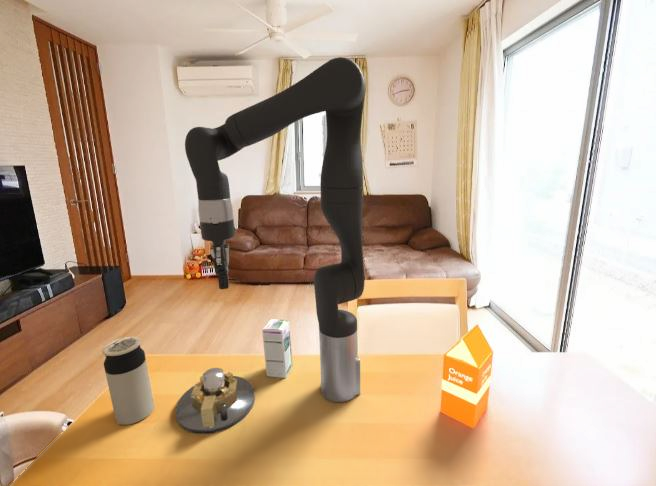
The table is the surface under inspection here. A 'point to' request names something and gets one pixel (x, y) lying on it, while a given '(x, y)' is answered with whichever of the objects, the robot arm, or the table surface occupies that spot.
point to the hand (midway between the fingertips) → (224, 287)
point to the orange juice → (467, 378)
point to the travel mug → (128, 380)
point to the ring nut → (214, 399)
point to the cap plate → (226, 416)
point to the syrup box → (277, 348)
